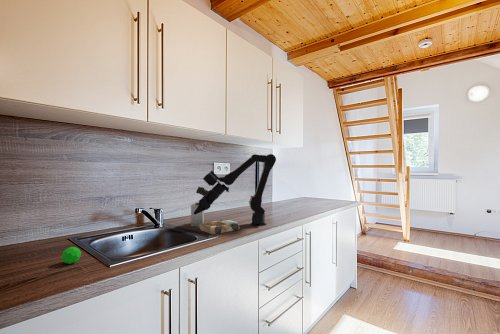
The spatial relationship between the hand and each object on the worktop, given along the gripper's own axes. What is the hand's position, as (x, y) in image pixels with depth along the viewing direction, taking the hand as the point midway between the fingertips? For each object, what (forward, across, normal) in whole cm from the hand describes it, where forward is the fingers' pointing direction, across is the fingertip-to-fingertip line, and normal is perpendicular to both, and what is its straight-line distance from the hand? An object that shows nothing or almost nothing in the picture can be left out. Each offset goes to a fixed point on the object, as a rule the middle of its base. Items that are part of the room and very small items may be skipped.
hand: (194, 212), depth 133 cm
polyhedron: (+27, +52, -17) cm, 62 cm away
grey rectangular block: (+4, 0, +6) cm, 7 cm away
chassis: (-5, +11, +14) cm, 19 cm away
